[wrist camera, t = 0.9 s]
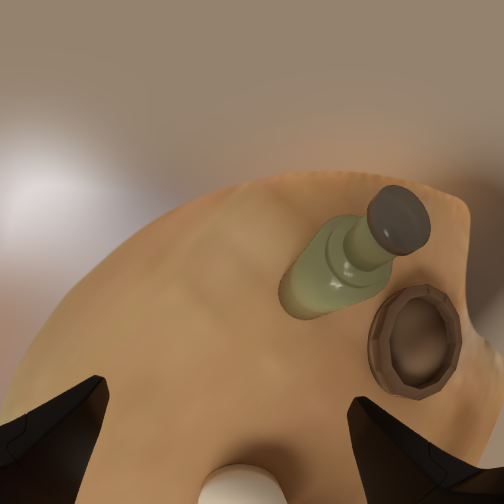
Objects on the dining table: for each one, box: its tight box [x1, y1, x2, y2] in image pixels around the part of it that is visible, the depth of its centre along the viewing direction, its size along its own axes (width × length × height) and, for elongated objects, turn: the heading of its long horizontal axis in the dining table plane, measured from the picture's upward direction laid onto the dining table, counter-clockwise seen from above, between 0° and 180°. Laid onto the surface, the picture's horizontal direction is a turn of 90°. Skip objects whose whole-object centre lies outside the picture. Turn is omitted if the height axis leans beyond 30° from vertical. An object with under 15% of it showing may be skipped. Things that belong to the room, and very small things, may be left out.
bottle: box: [278, 185, 431, 320], centre depth 16 cm, size 5×5×15 cm
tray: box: [367, 284, 462, 400], centre depth 22 cm, size 11×11×2 cm
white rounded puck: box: [198, 464, 287, 504], centre depth 15 cm, size 7×7×4 cm
